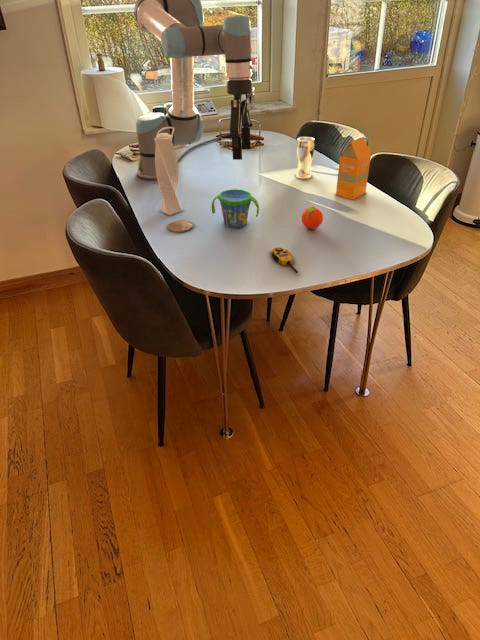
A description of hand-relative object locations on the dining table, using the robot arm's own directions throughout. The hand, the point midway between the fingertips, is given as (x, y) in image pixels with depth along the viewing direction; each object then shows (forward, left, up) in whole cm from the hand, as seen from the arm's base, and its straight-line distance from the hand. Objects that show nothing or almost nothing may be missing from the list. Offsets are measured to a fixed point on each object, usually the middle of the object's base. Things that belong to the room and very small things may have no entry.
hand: (242, 154), depth 149 cm
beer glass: (-45, +20, -22) cm, 54 cm away
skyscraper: (-5, -26, -22) cm, 34 cm away
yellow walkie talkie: (+29, +16, -22) cm, 40 cm away
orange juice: (-27, +38, -22) cm, 51 cm away
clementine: (+5, +23, -22) cm, 32 cm away
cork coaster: (+8, -20, -22) cm, 31 cm away
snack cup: (+4, -2, -22) cm, 23 cm away
